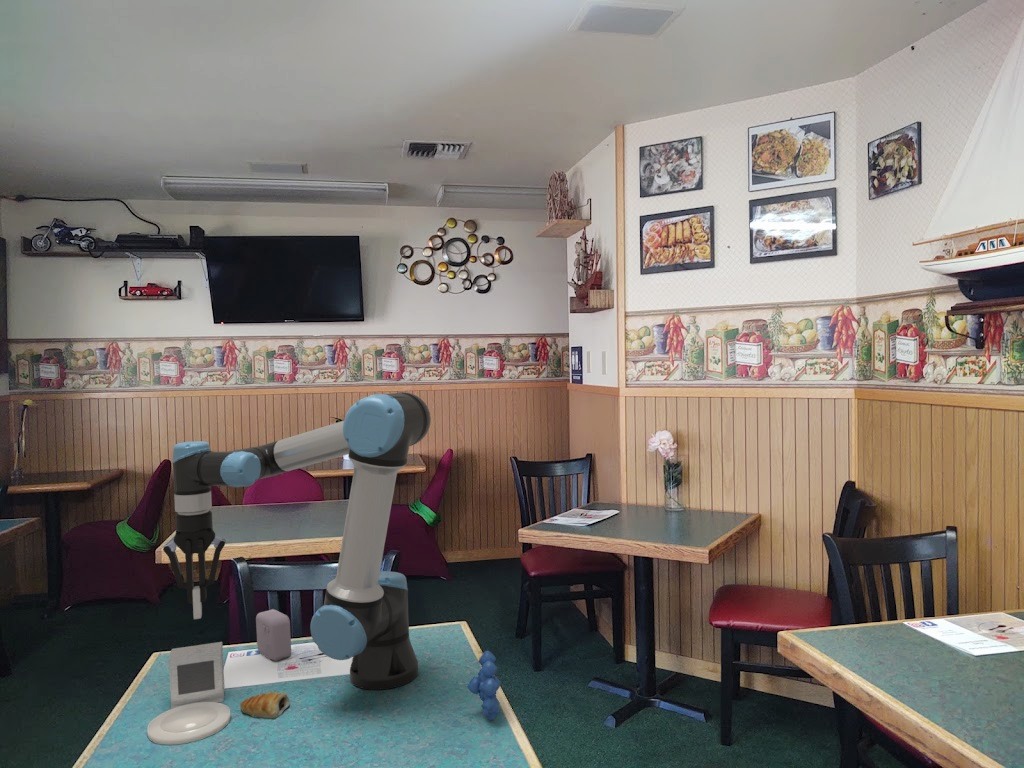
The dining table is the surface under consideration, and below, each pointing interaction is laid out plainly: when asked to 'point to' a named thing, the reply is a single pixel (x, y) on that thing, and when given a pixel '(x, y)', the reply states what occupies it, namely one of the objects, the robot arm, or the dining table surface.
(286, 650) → the electronic device
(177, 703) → the picture frame
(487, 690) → the grapes
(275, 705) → the pastry
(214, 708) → the plate
